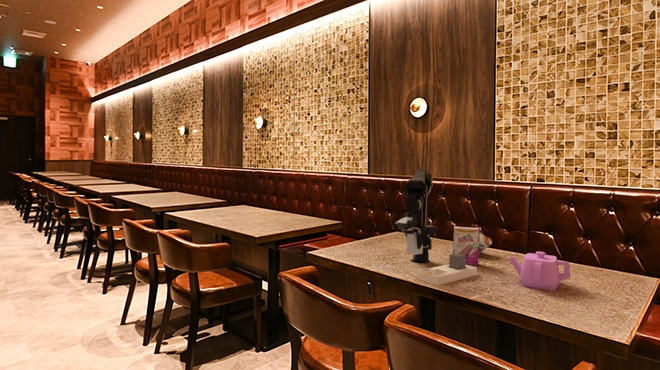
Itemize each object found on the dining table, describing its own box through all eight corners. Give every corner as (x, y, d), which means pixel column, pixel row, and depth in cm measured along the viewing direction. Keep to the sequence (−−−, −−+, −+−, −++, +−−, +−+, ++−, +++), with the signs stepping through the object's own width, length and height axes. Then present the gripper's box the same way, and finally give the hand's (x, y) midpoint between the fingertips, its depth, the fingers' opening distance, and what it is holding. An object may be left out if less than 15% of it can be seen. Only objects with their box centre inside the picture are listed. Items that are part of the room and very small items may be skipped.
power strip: (417, 279, 157) (417, 270, 157) (456, 270, 171) (456, 261, 171) (437, 286, 149) (437, 276, 149) (476, 276, 163) (477, 266, 162)
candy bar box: (452, 264, 182) (453, 227, 181) (452, 261, 187) (453, 226, 186) (478, 266, 178) (479, 229, 177) (478, 263, 183) (479, 227, 182)
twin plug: (449, 274, 163) (449, 254, 163) (456, 272, 166) (457, 253, 166) (457, 276, 160) (457, 256, 160) (465, 274, 163) (465, 255, 163)
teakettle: (537, 293, 143) (538, 258, 142) (505, 279, 159) (506, 248, 158) (576, 289, 147) (578, 256, 146) (541, 276, 163) (542, 246, 163)
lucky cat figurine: (479, 250, 210) (492, 229, 204) (485, 264, 200) (498, 242, 193) (452, 241, 210) (463, 220, 204) (456, 255, 199) (468, 233, 193)
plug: (406, 253, 166) (407, 233, 165) (415, 251, 169) (415, 232, 168) (414, 254, 162) (414, 235, 162) (422, 253, 165) (422, 234, 165)
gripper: (385, 209, 167) (384, 246, 168) (419, 214, 152) (418, 255, 153) (404, 207, 174) (403, 243, 175) (438, 212, 159) (437, 251, 160)
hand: (414, 248), depth 165 cm, fingers closed on plug, 4 cm apart
